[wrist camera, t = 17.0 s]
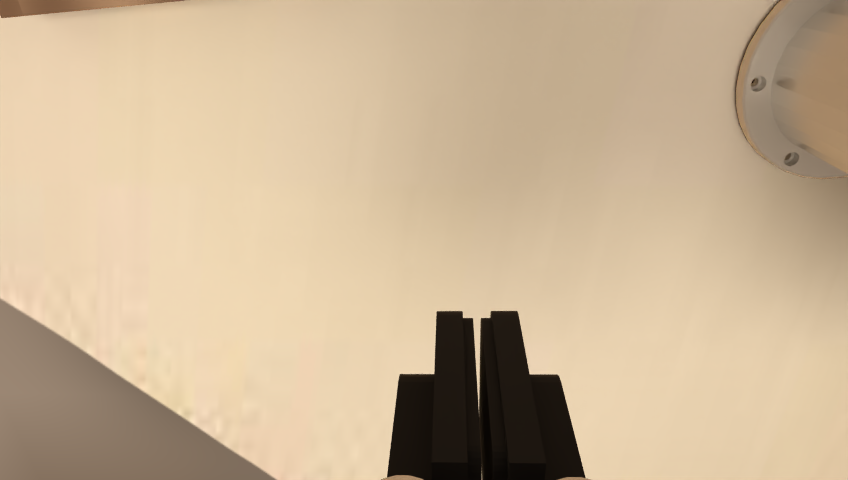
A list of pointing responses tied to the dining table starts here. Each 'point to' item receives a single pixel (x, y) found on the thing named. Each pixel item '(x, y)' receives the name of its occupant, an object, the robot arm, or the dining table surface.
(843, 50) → the robot arm
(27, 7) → the u rest
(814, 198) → the dining table surface
